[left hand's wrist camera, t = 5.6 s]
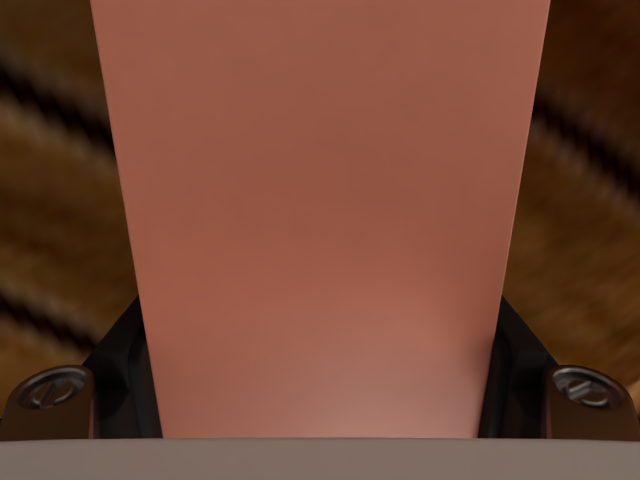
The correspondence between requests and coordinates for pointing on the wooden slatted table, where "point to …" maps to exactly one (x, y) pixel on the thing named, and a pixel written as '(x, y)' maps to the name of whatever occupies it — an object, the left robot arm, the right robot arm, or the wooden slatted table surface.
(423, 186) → the cabinet
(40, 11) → the wooden slatted table surface
